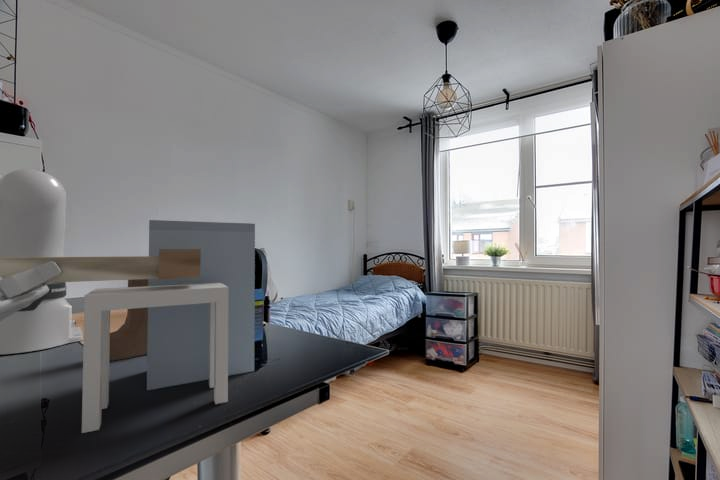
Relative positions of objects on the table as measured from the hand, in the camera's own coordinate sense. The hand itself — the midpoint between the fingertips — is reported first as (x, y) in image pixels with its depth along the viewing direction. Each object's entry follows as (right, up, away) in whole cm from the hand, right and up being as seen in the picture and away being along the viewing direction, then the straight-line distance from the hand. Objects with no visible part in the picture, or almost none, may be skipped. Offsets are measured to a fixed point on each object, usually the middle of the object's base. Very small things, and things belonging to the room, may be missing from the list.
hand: (63, 265), depth 42 cm
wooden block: (-10, -21, +27) cm, 35 cm away
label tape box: (+10, -21, +36) cm, 43 cm away
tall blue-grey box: (+9, -20, +18) cm, 28 cm away
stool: (+9, -20, +5) cm, 22 cm away
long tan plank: (+4, -2, +2) cm, 5 cm away
